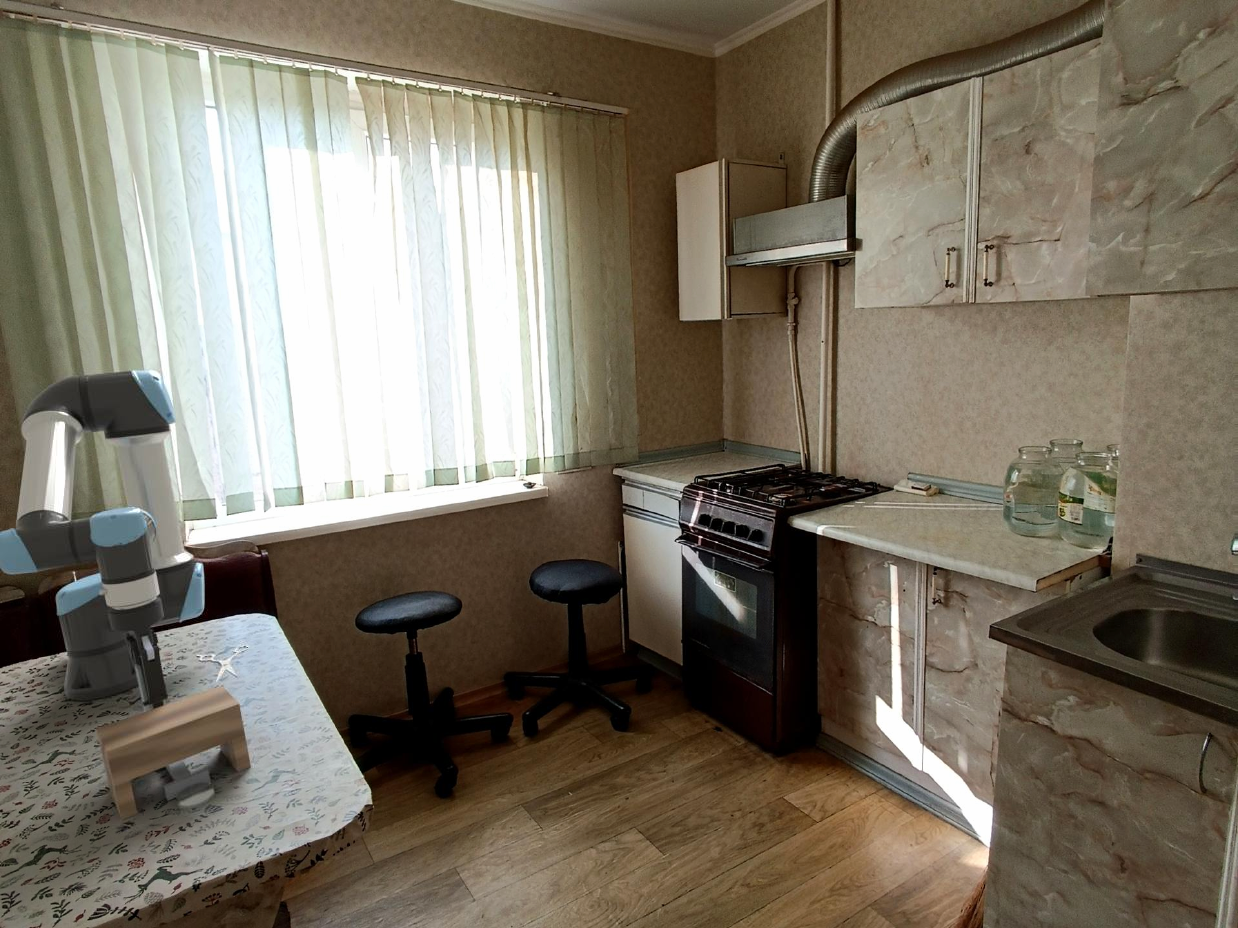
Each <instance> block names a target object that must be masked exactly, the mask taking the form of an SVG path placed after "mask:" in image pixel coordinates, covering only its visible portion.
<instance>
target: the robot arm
mask: <svg viewBox="0 0 1238 928" xmlns="http://www.w3.org/2000/svg"><path fill="white" fill-rule="evenodd" d="M175 413H176V412H175V411H174V407H173V403H172V400H171V397H170V393H169V392H168V388H167V386H166V384H165V381H164V380H163V378H162V376H161V374H160V373H158V372H157V371H155V370H152V369H150V370H149V369H145V370H144V369H143V370H141V369H140V370H128V371H127V370H126V371H125V370H124V371H116V372H108V373H107V372H106V373H105V372H104V373H95V374H85V375H84V374H83V375H81V374H80V375H79V374H78V375H73V376H67V377H65V378H62V379H60V380H58V381H55V382H53V383H52V384H50V385H49V386H47V387H45V389H43V390H42V391H41V392H40V393H38V395H37V396H36V397H35V398H34V399H33V400H32V401H31V402H30V404H29V406H28V407H27V409H26V411H25V413H24V415H23V418H22V422H21V435H22V437H23V438H24V440H25V441H26V444H25V451H24V452H25V453H24V460H23V466H22V467H23V469H22V477H21V483H20V484H21V485H20V490H19V500H18V507H17V515H16V521H15V523H16V524H15V528H13V527H12V528H9V529H7V530H3V531H0V569H1V571H2V572H3V573H5V574H8V575H21V574H28V573H29V574H30V573H37V572H41V571H45V570H51V569H52V570H53V569H58V568H62V567H68V566H73V565H79V564H87V563H91V562H97V566H98V569H99V572H98V573H95V574H92V575H87V576H85V577H83V578H80V579H78V580H77V579H76V581H75V580H74V581H73V582H71V583H69V584H66V585H65V586H63V587H62V588H61V589H60V590H59V591H58V592H57V593H56V595H55V603H56V616H58V620H59V623H60V628H61V629H60V630H61V632H62V636H63V641H64V645H65V649H66V650H65V651H66V652H67V666H66V671H65V679H64V682H63V688H64V689H63V690H64V694H65V697H67V698H69V699H72V700H71V701H73V700H77V701H76V702H83V701H84V700H85V701H93V700H98V699H102V698H107V697H110V696H115V695H117V694H119V693H123V692H125V691H129V690H130V689H132V688H135V687H136V686H137V687H138V688H139V684H138V679H137V675H136V670H135V664H137V665H139V666H140V669H141V674H142V678H143V683H144V687H145V691H146V696H147V701H145V702H142V701H141V702H142V707H143V706H147V708H148V711H149V710H152V709H155V708H158V707H161V706H164V705H167V704H168V703H167V700H168V697H169V695H168V693H167V689H166V683H165V682H166V681H165V677H164V676H165V675H164V672H163V667H162V661H161V654H160V653H161V652H160V646H159V645H158V644H159V639H158V635H157V632H154V629H153V628H154V627H159V626H163V625H164V626H165V625H169V624H173V623H178V622H179V623H182V622H183V621H186V620H191V619H193V618H198V617H199V616H200V615H202V614H203V611H204V609H205V572H204V571H205V570H204V564H203V563H202V562H195V557H194V555H193V554H192V553H190V552H188V551H187V550H186V549H185V547H184V543H183V542H184V541H183V538H182V531H181V526H180V521H179V516H178V511H177V506H176V505H177V504H176V501H175V494H174V488H173V485H172V478H171V473H170V469H169V463H168V457H167V453H166V447H165V439H166V438H167V437H168V436H169V434H171V429H170V425H172V424H174V423H176V421H177V418H176V414H175ZM97 432H103V433H104V439H105V441H106V442H108V443H109V444H111V445H113V447H115V449H116V450H115V451H116V455H117V459H118V465H119V469H120V475H121V479H122V483H123V484H122V485H123V489H124V494H125V499H126V504H127V507H118V508H113V509H109V510H104V511H100V512H98V513H95V514H93V515H92V516H91V517H85V518H79V519H73V520H72V509H73V495H74V494H73V493H74V481H75V480H74V479H75V478H74V477H75V462H76V450H77V449H76V448H77V444H78V443H79V442H80V441H81V440H82V438H83V436H84V434H88V433H97ZM151 628H152V629H151ZM67 698H66V699H67ZM69 699H68V700H69ZM79 700H80V701H79ZM85 701H84V702H85Z"/></svg>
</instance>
